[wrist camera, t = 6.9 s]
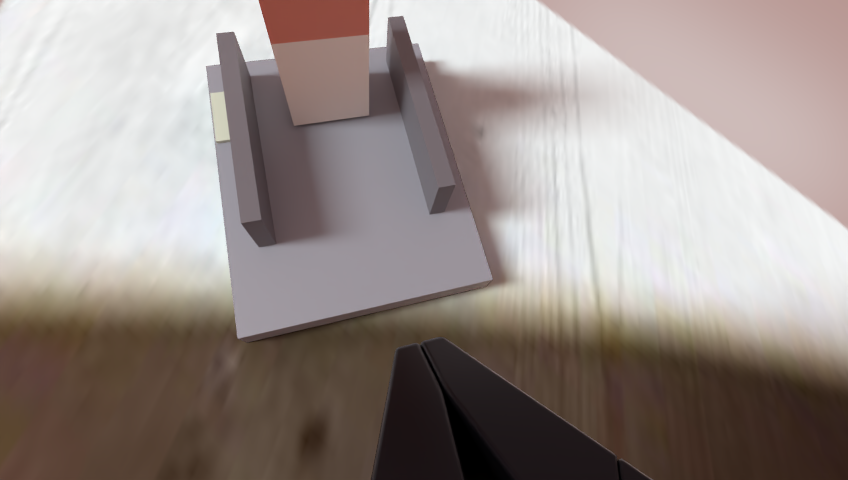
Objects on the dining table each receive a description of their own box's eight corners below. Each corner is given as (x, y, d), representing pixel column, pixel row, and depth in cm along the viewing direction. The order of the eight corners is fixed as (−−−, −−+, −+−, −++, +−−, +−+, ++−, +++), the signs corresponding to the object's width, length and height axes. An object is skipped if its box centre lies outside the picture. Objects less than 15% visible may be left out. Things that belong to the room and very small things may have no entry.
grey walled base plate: (484, 286, 22) (512, 261, 18) (246, 342, 20) (213, 328, 15) (415, 61, 27) (424, -1, 22) (215, 85, 24) (183, 20, 20)
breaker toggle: (369, 115, 23) (369, -113, 12) (294, 125, 22) (227, -109, 12) (357, 71, 24) (349, -175, 13) (285, 79, 23) (217, -175, 13)
